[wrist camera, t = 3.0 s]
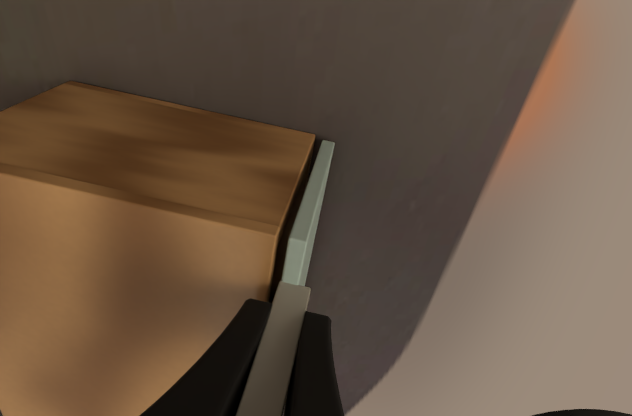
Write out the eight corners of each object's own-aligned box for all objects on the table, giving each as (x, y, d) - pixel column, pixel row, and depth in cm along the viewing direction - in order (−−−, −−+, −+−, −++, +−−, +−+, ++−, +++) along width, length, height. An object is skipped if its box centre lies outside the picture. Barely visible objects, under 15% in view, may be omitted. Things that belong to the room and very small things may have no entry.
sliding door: (344, 143, 17) (287, 388, 8) (310, 295, 21) (247, 568, 12) (320, 138, 17) (237, 375, 8) (291, 291, 21) (215, 560, 12)
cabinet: (316, 134, 17) (276, 236, 11) (269, 386, 26) (233, 520, 20) (69, 79, 18) (-93, 152, 12) (104, 347, 26) (20, 466, 20)
